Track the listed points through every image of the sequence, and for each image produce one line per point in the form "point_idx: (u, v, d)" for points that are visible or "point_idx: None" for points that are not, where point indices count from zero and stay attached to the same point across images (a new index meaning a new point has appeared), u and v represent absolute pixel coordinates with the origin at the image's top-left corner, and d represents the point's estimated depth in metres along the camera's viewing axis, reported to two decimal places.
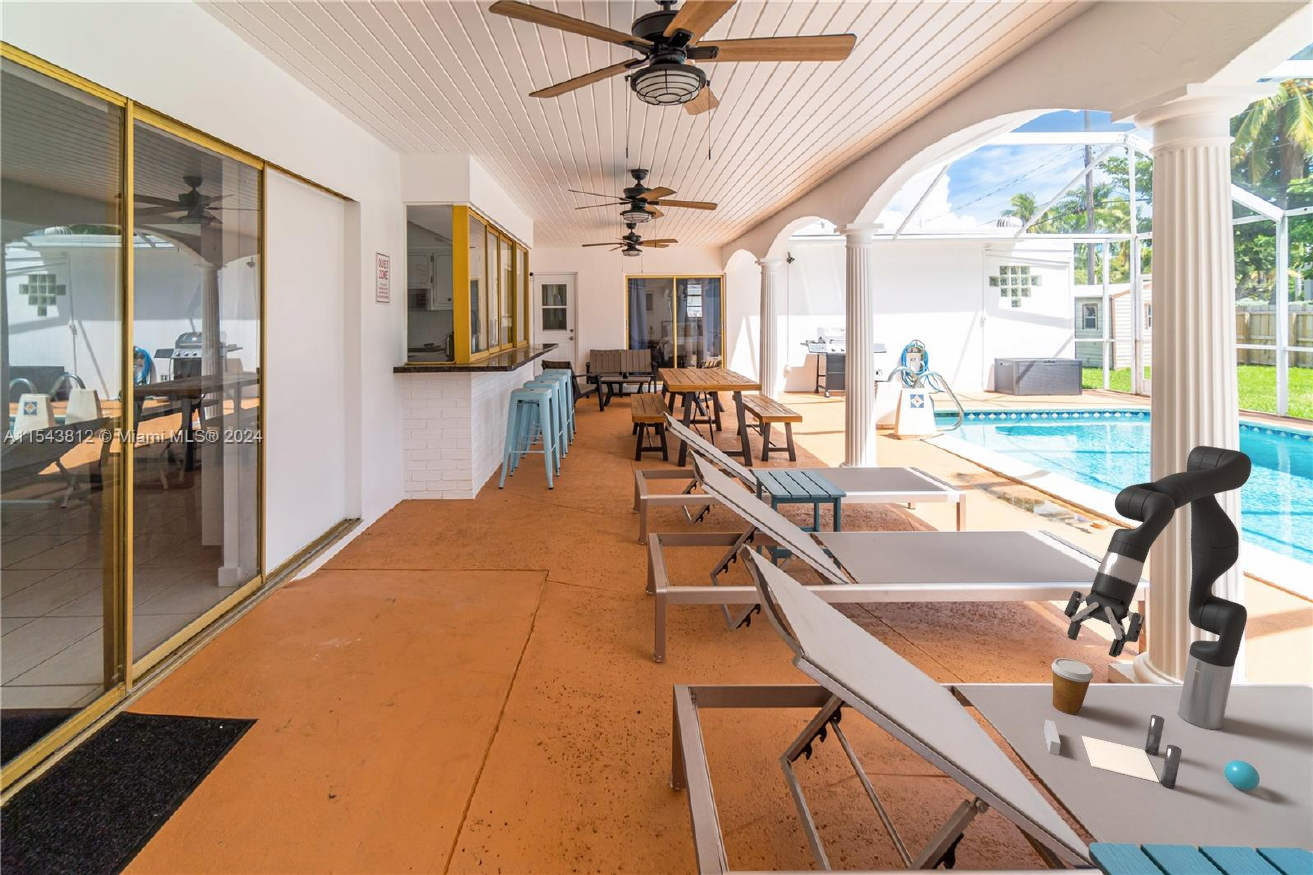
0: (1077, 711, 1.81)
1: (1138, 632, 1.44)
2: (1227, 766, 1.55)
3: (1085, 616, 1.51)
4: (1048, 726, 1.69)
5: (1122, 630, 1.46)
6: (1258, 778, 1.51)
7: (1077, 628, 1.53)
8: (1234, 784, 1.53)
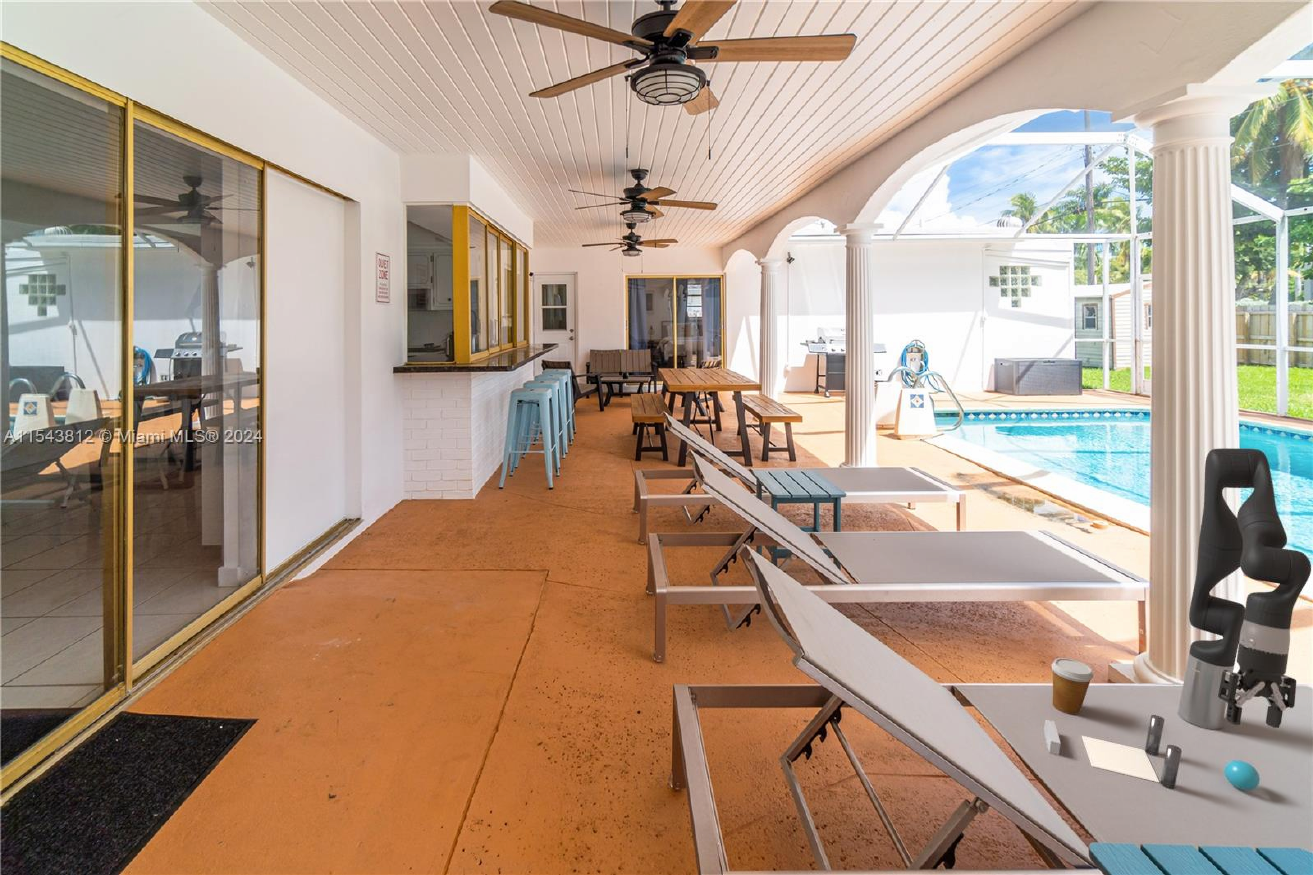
0: (1077, 711, 1.81)
1: None
2: (1227, 766, 1.55)
3: None
4: (1048, 726, 1.69)
5: None
6: (1258, 778, 1.51)
7: None
8: (1234, 784, 1.53)
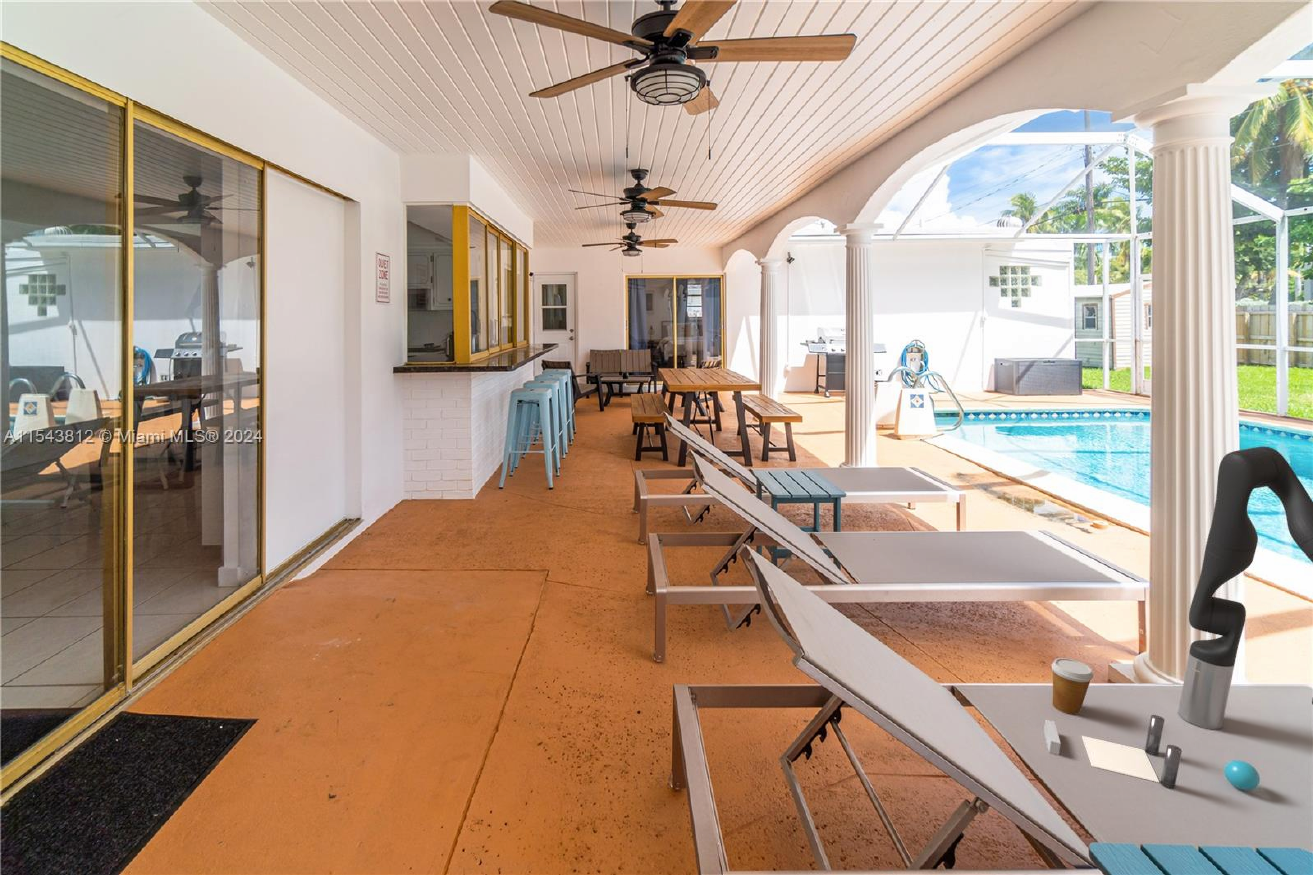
0: (1077, 711, 1.81)
1: None
2: (1227, 766, 1.55)
3: None
4: (1048, 726, 1.69)
5: None
6: (1258, 778, 1.51)
7: None
8: (1234, 784, 1.53)
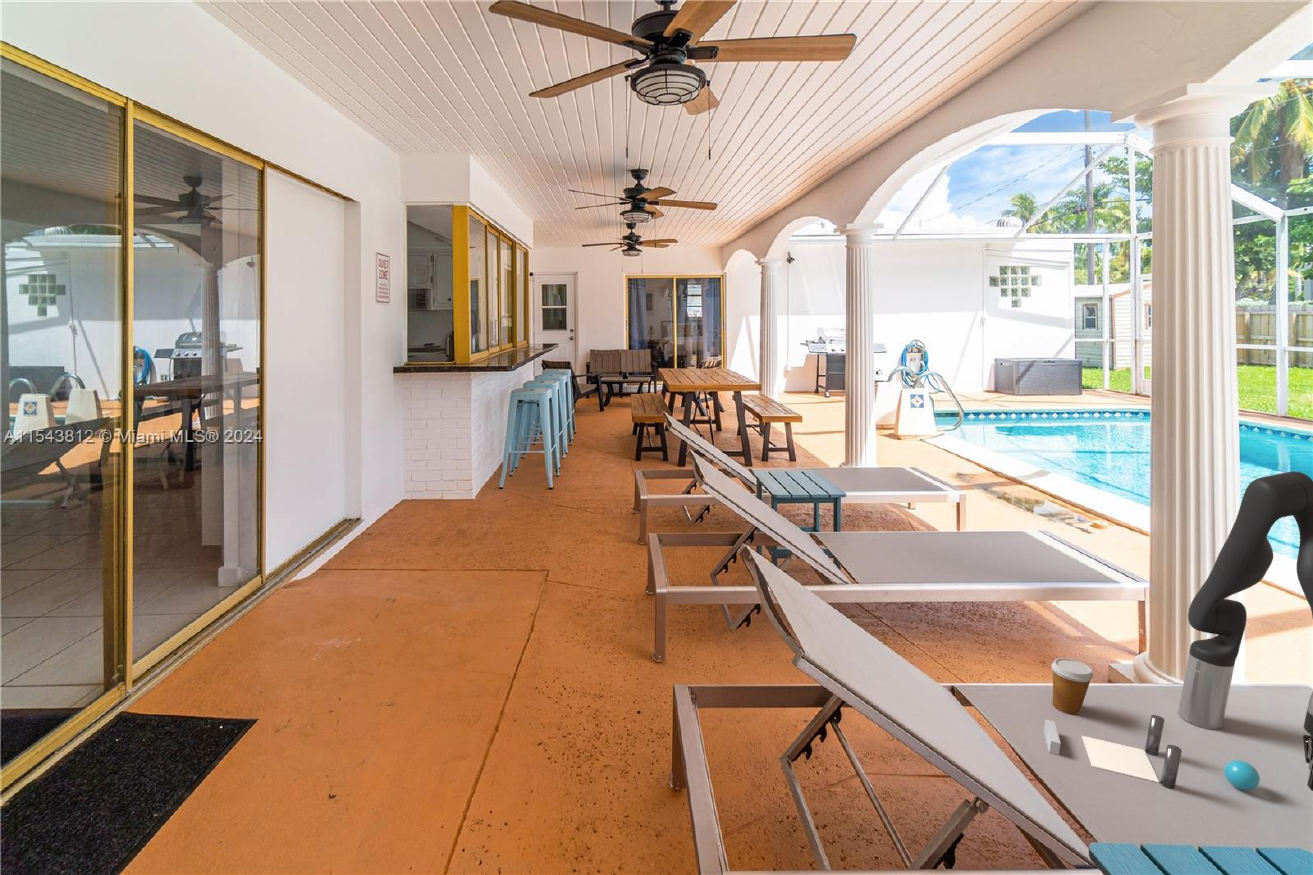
0: (1077, 711, 1.81)
1: None
2: (1227, 766, 1.55)
3: None
4: (1048, 726, 1.69)
5: None
6: (1258, 778, 1.51)
7: None
8: (1234, 784, 1.53)
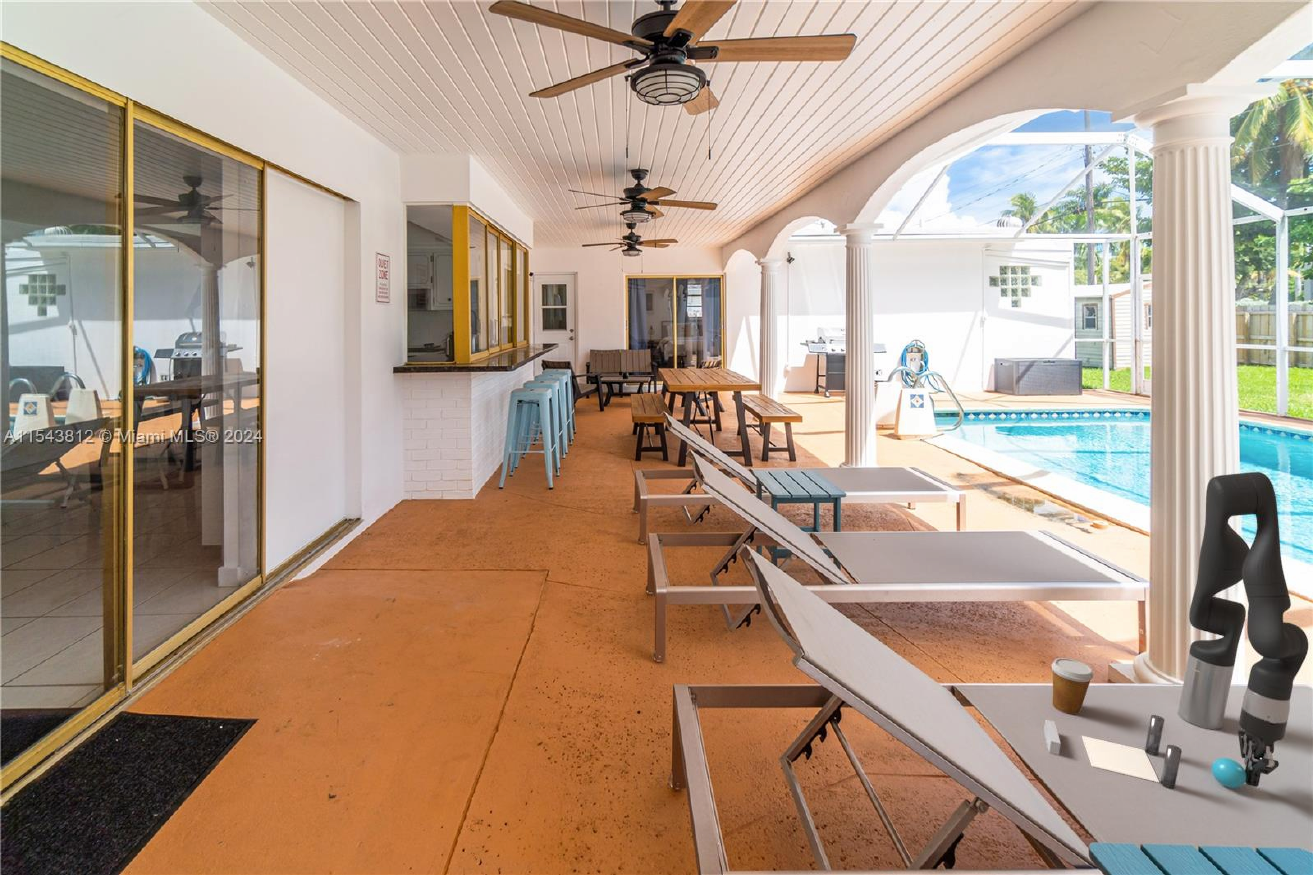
0: (1077, 711, 1.81)
1: None
2: (1212, 769, 1.56)
3: None
4: (1048, 726, 1.69)
5: None
6: (1241, 772, 1.52)
7: None
8: (1226, 785, 1.53)
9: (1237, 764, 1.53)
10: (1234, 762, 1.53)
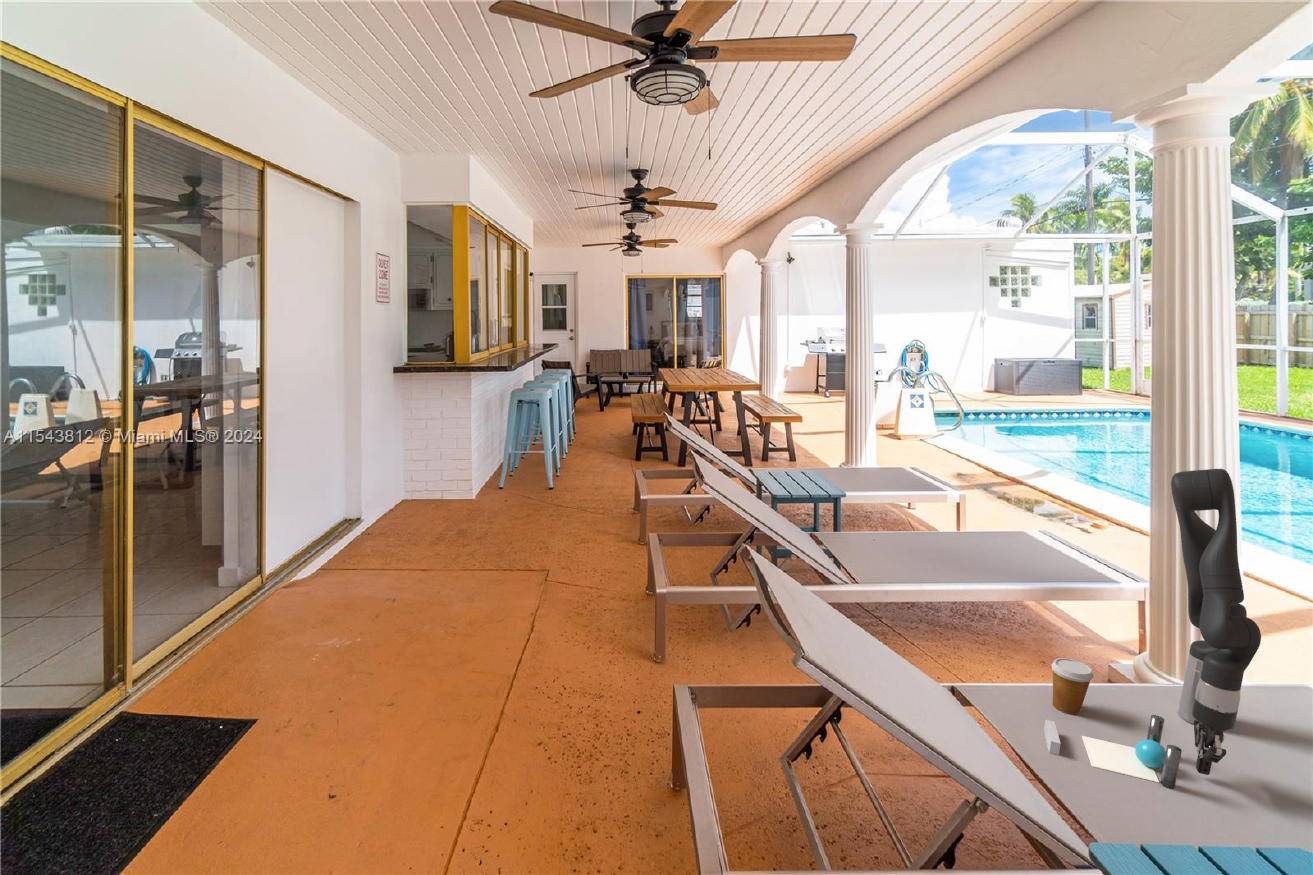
0: (1077, 711, 1.81)
1: None
2: (1164, 749, 1.59)
3: None
4: (1048, 726, 1.69)
5: None
6: (1148, 765, 1.59)
7: None
8: (1148, 744, 1.59)
9: (1153, 767, 1.59)
10: None
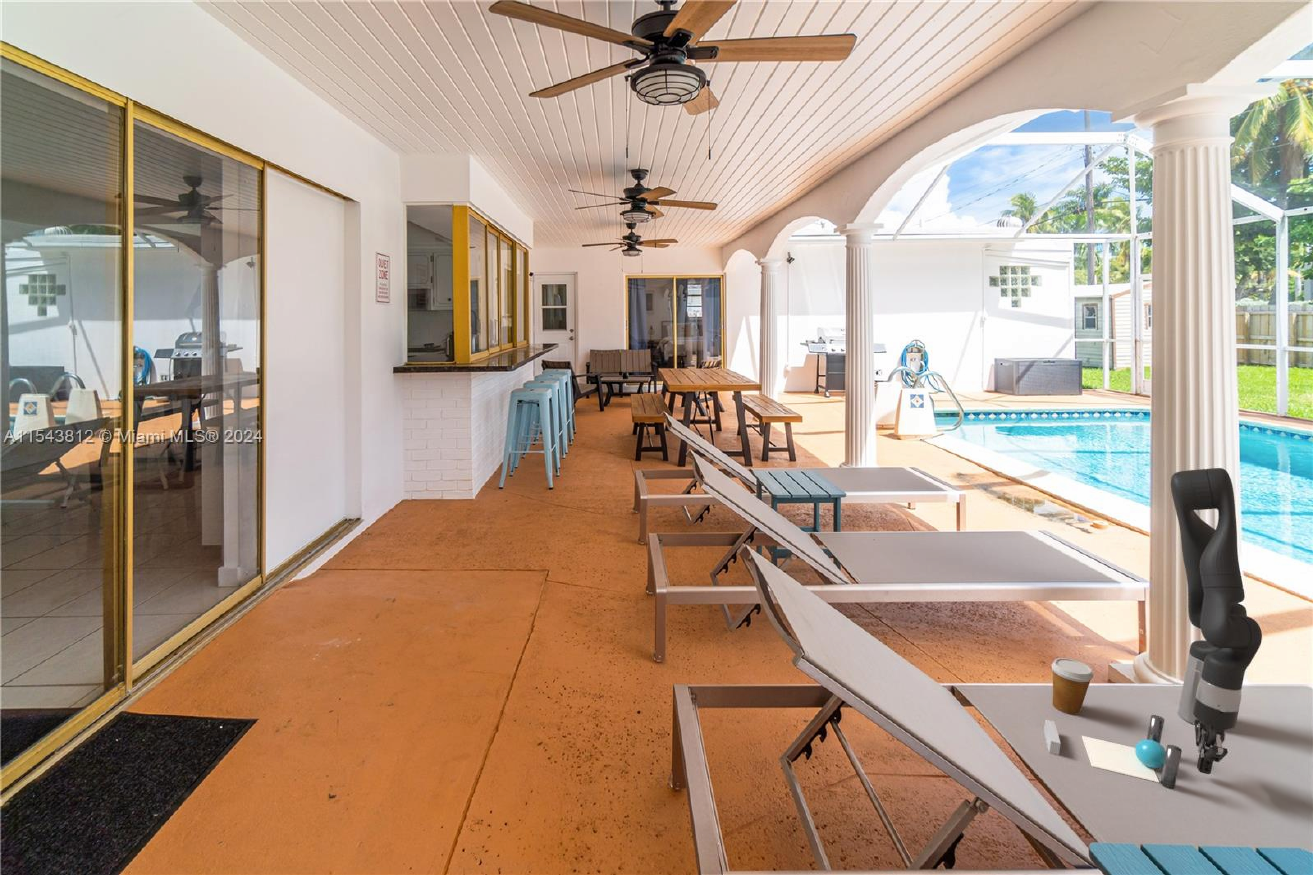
0: (1077, 711, 1.81)
1: None
2: (1164, 749, 1.59)
3: None
4: (1048, 726, 1.69)
5: None
6: (1148, 765, 1.59)
7: None
8: (1148, 744, 1.59)
9: (1153, 767, 1.59)
10: None
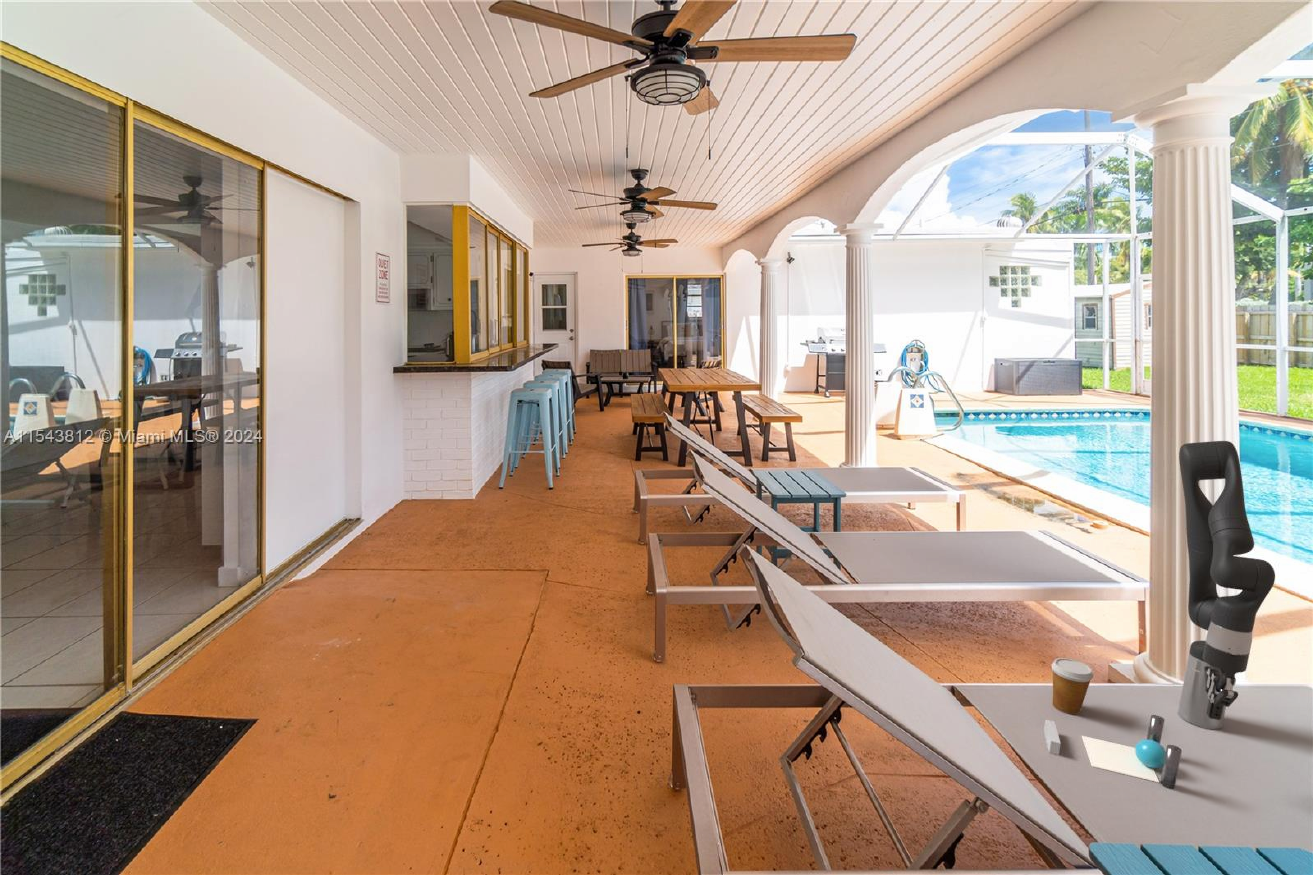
0: (1077, 711, 1.81)
1: None
2: (1164, 749, 1.59)
3: None
4: (1048, 726, 1.69)
5: None
6: (1148, 765, 1.59)
7: None
8: (1148, 744, 1.59)
9: (1153, 767, 1.59)
10: None
